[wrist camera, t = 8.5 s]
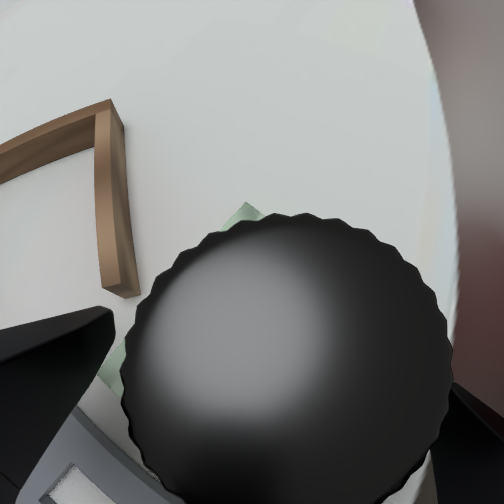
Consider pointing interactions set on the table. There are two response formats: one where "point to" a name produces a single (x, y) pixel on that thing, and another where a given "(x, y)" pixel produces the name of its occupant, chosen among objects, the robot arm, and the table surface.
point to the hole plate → (91, 467)
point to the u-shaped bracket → (105, 181)
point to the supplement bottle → (287, 367)
